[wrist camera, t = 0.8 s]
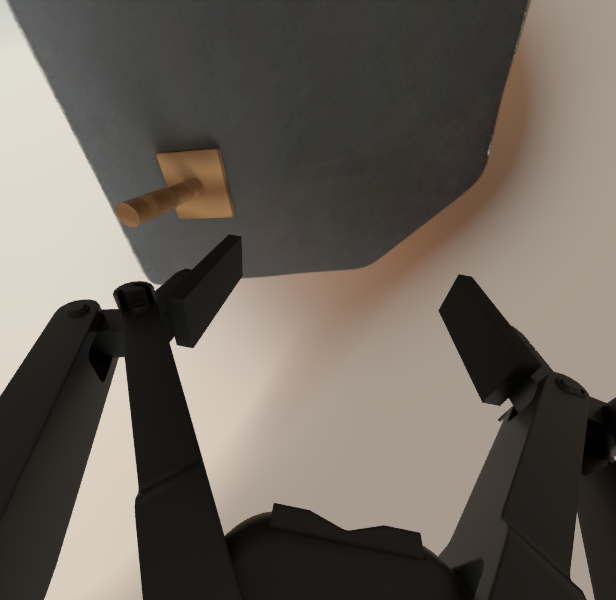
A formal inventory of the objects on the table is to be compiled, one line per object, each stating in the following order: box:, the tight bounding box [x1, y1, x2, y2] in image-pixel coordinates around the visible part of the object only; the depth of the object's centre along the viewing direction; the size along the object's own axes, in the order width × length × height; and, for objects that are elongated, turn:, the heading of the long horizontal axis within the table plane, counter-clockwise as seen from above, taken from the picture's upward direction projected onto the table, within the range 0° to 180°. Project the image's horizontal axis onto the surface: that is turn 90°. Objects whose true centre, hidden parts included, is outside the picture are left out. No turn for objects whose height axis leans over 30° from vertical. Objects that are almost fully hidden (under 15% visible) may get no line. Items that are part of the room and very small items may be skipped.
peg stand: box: [116, 148, 235, 227], centre depth 31 cm, size 9×9×15 cm
